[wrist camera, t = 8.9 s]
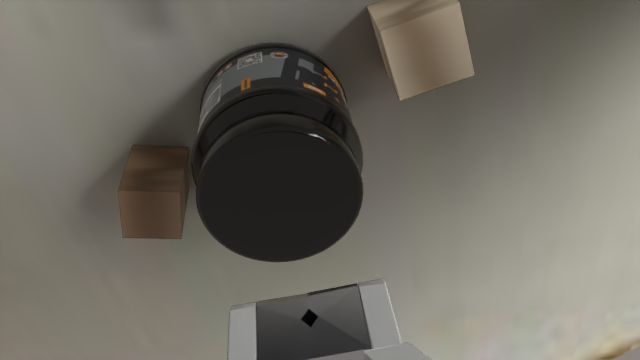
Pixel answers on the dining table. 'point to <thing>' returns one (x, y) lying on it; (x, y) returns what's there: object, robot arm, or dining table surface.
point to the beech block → (421, 43)
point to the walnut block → (154, 192)
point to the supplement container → (276, 155)
